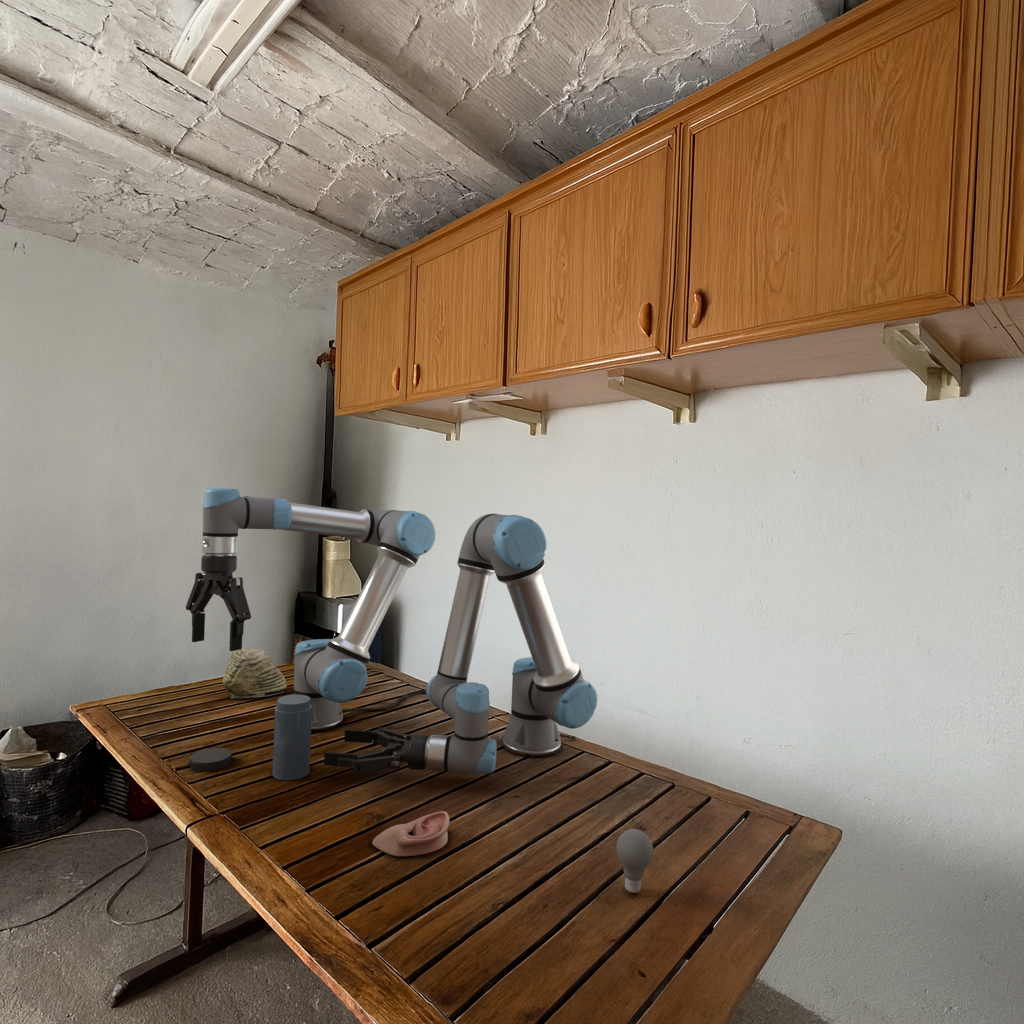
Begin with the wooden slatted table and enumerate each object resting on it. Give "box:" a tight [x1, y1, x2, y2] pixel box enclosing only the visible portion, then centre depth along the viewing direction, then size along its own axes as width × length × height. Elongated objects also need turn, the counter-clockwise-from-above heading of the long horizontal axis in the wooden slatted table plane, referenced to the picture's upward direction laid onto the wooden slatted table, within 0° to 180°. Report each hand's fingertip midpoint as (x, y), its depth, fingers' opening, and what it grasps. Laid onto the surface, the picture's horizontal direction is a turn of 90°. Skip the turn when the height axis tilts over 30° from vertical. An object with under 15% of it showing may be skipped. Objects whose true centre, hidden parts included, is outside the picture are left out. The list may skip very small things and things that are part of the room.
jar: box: [271, 694, 312, 781], centre depth 144 cm, size 8×8×17 cm
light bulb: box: [615, 828, 654, 894], centre depth 106 cm, size 6×6×10 cm
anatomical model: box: [372, 810, 450, 857], centre depth 118 cm, size 13×4×12 cm
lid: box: [189, 747, 233, 773], centre depth 147 cm, size 9×9×2 cm
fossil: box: [222, 646, 288, 699], centre depth 198 cm, size 9×18×15 cm, turn 132°
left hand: (216, 645), depth 147 cm, fingers open, 13 cm apart
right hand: (335, 746), depth 144 cm, fingers open, 13 cm apart
